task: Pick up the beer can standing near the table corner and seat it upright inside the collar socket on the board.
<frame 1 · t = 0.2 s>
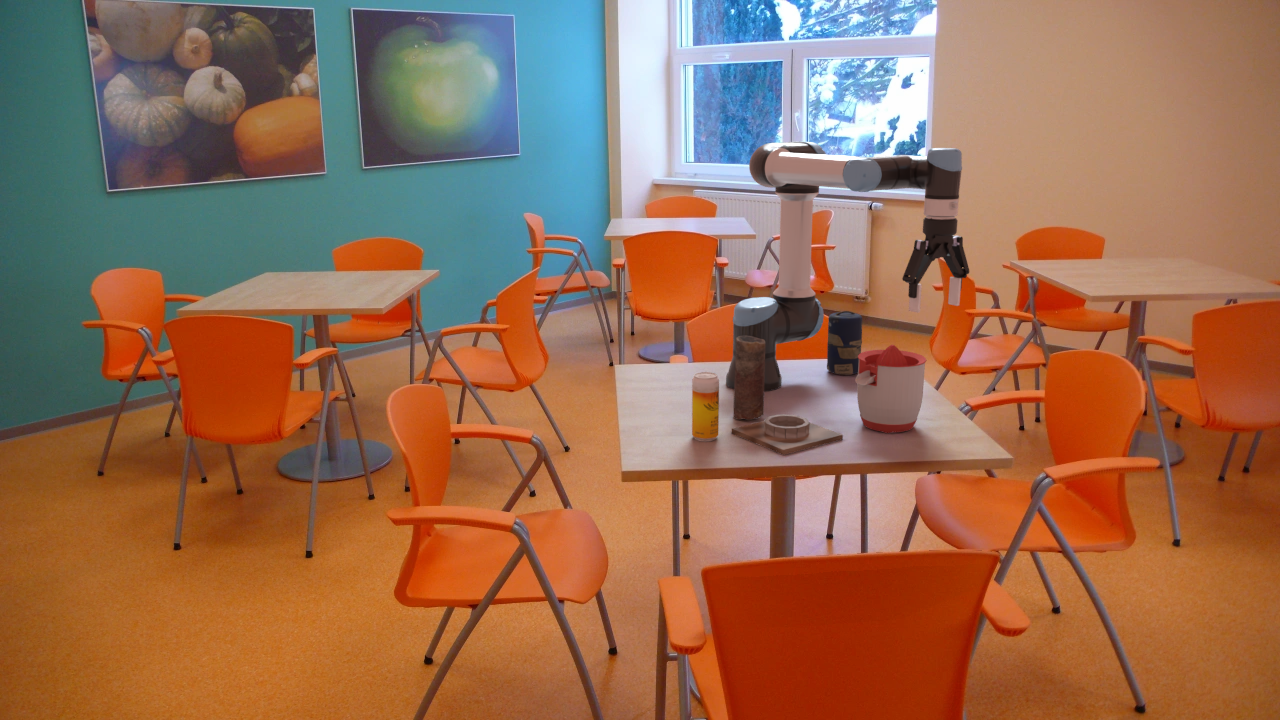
hand: (934, 308, 231), 28 cm above the table, fingers open, 13 cm apart
citrus juicer: (885, 427, 235), on the table
beer can: (705, 438, 228), on the table
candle: (748, 418, 243), on the table
canister: (843, 373, 282), on the table
can holder: (786, 436, 229), on the table
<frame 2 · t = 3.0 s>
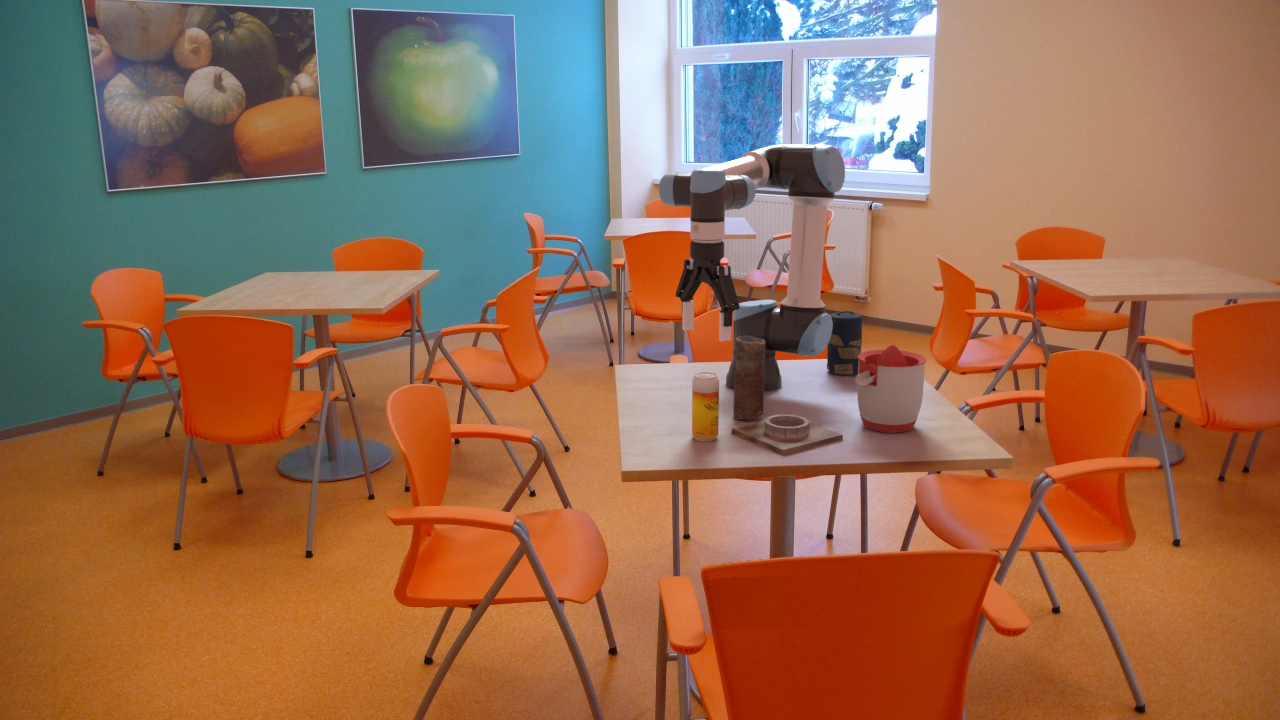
hand: (706, 335, 222), 24 cm above the table, fingers open, 13 cm apart
nothing on the table moved.
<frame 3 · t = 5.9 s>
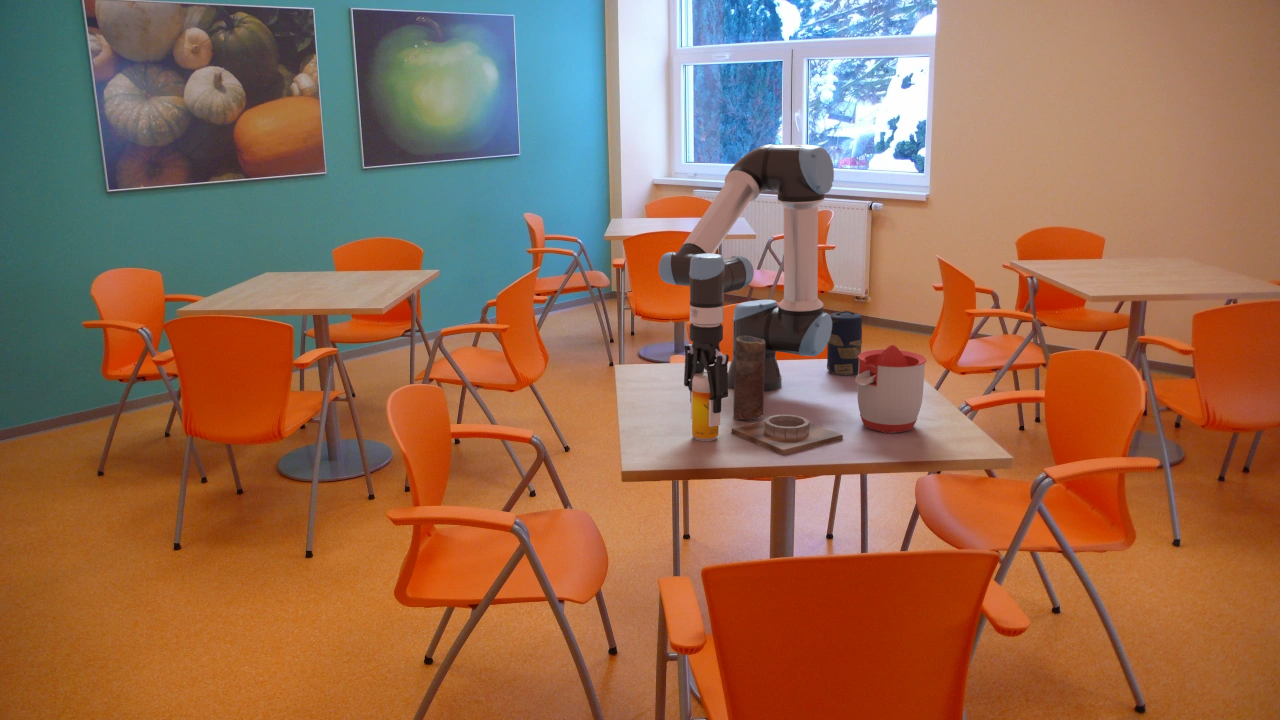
hand: (705, 421, 227), 4 cm above the table, fingers closed on beer can, 6 cm apart
beer can: (705, 438, 228), on the table, touching gripper
everything else where it was.
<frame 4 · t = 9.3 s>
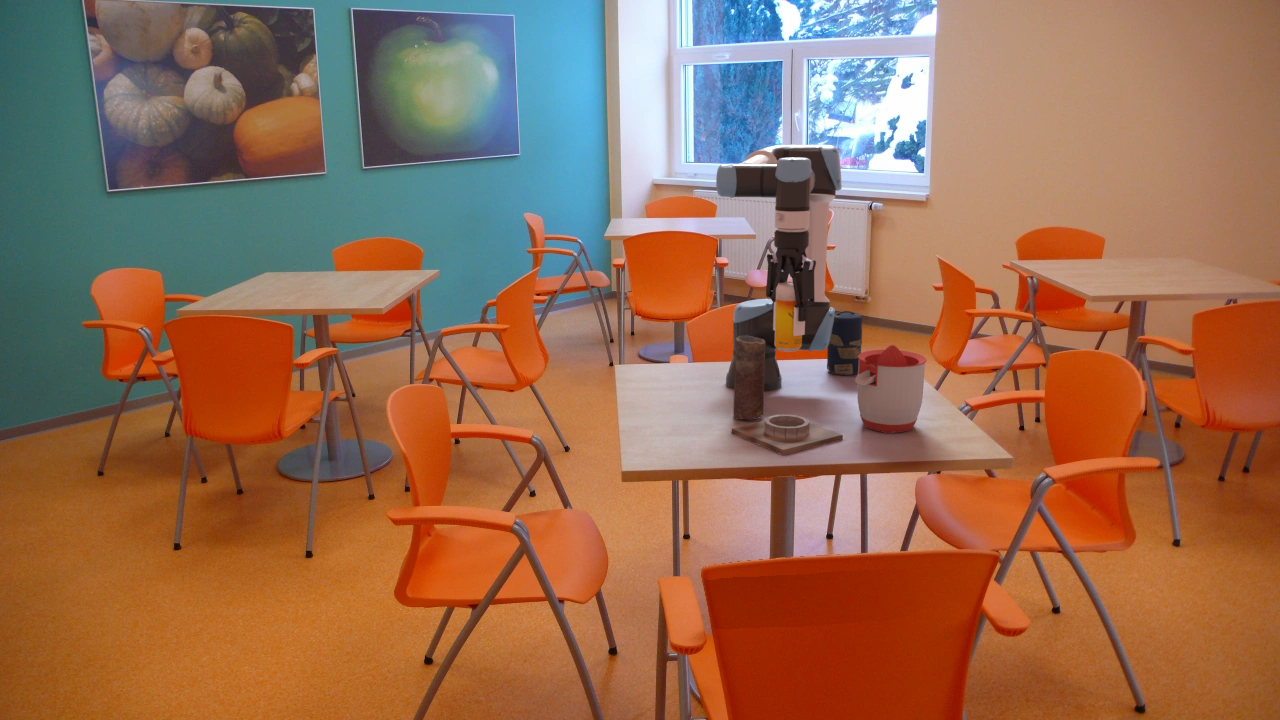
hand: (788, 332, 222), 25 cm above the table, fingers closed on beer can, 6 cm apart
beer can: (787, 350, 223), point 21 cm above the table, touching gripper
everything else where it was.
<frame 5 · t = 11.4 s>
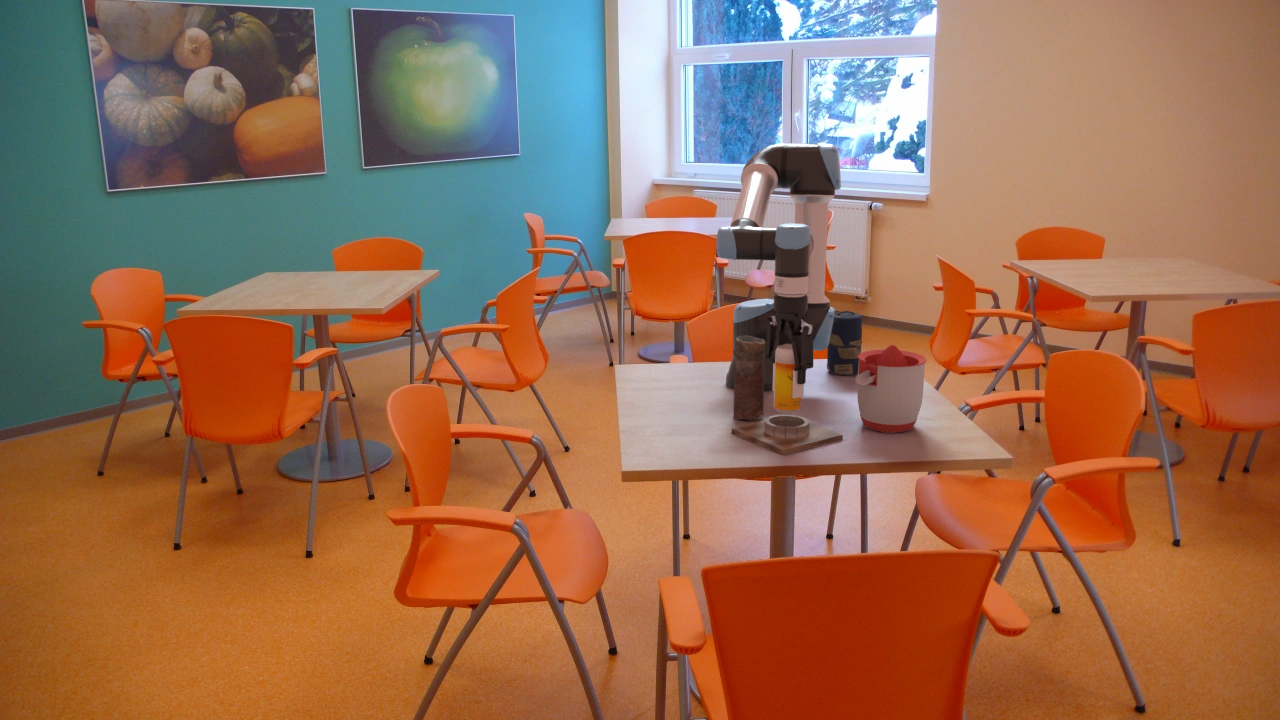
hand: (787, 393, 226), 10 cm above the table, fingers closed on beer can, 6 cm apart
beer can: (787, 410, 227), point 6 cm above the table, touching gripper
everything else where it was.
when the fingers open (6 cm above the table, at t = 13.1 s): beer can stays where it is, resting on can holder.
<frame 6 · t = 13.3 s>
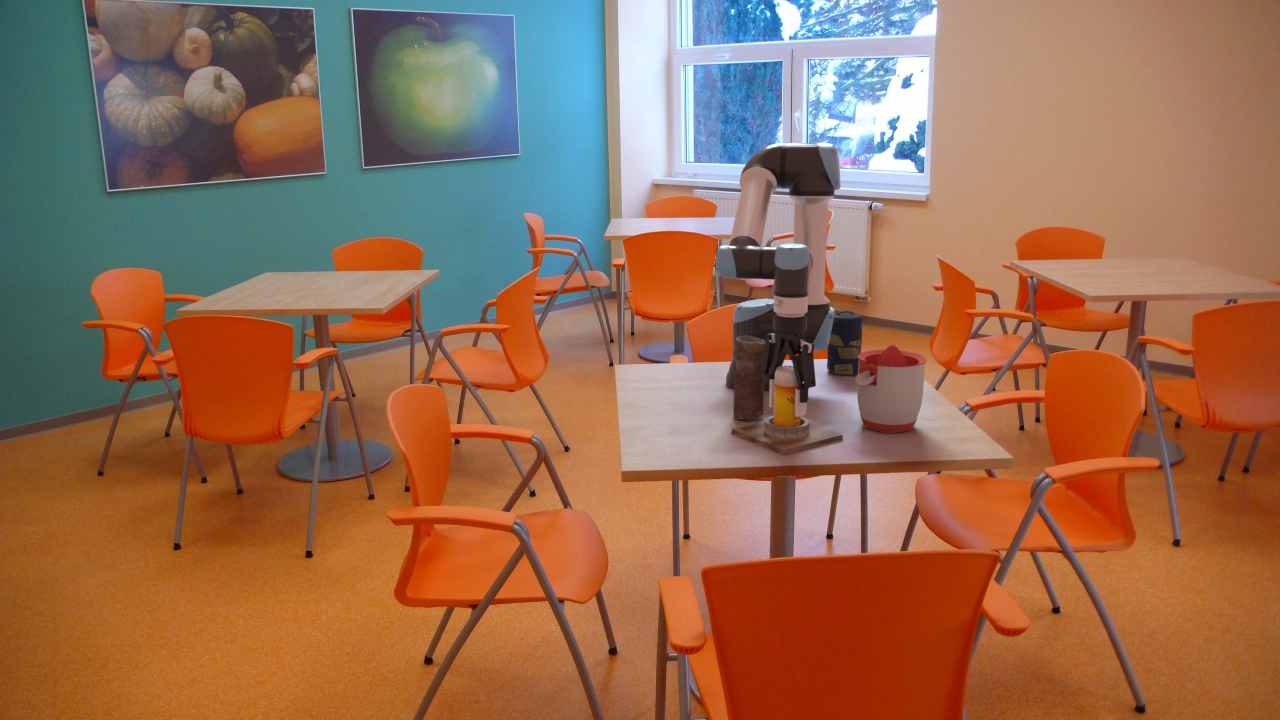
hand: (787, 410, 227), 6 cm above the table, fingers open, 8 cm apart
beer can: (786, 432, 228), point 1 cm above the table, touching can holder
everything else where it was.
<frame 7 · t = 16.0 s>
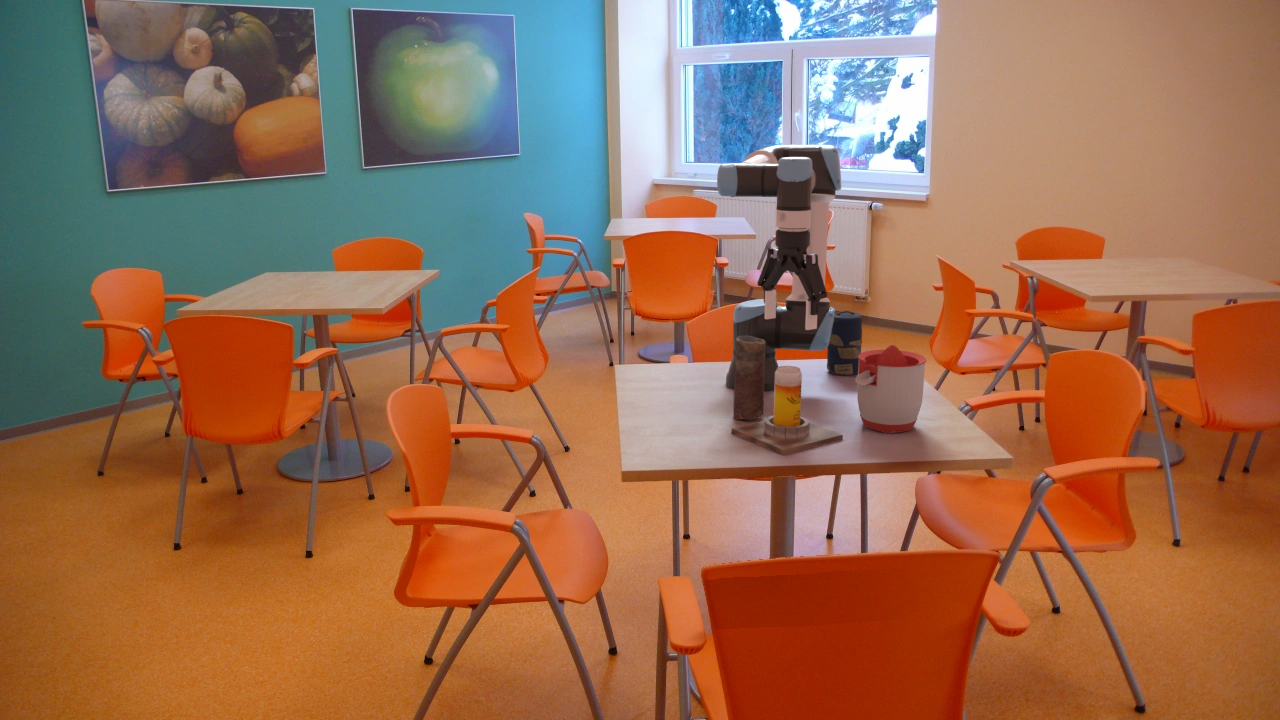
hand: (790, 323, 222), 27 cm above the table, fingers open, 13 cm apart
nothing on the table moved.
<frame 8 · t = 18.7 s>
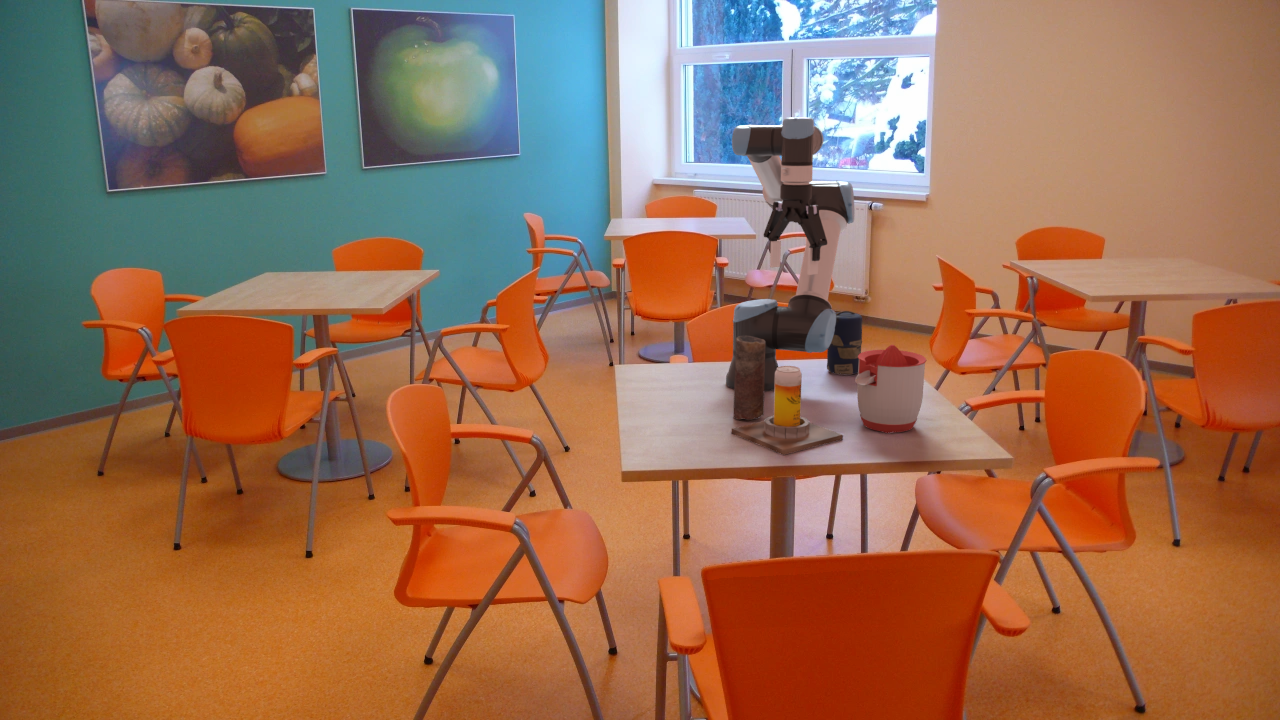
hand: (793, 270, 243), 35 cm above the table, fingers open, 13 cm apart
nothing on the table moved.
at the end: beer can 0.1 cm off-centre on the can holder, point 1.0 cm above the can holder's base; beer can tilted 0°; the gripper is holding nothing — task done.
